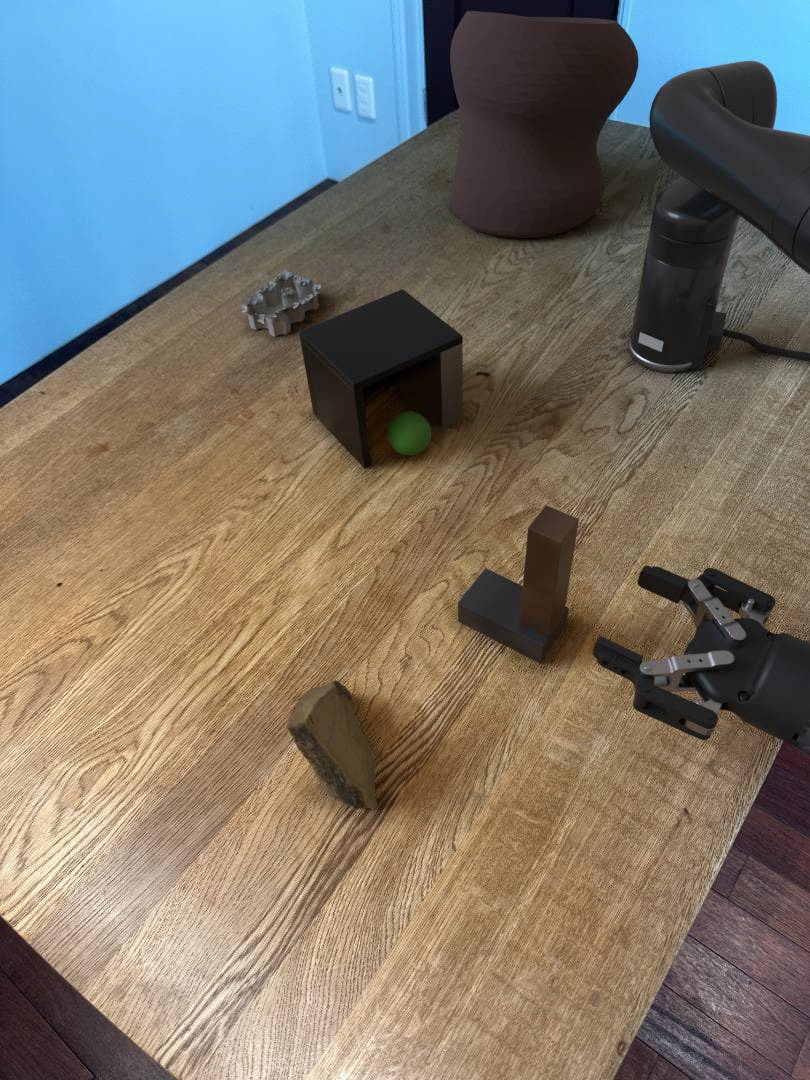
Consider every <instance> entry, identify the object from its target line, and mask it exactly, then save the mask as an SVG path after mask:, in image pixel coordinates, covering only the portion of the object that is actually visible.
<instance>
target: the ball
mask: <svg viewBox="0 0 810 1080" xmlns="http://www.w3.org/2000/svg"><path fill="white" fill-rule="evenodd" d="M386 431H387V432H386V434H387V435H386V436H387V440H388V443H389V445H390V446H391V448H392V449H393V450H394V451H395V452H396V453H398V454H401V455H403V456H416V455H418V454H420V453H422V452H423V451H424V450H425V449H426V448H427V447H428V445H429V443H430V441H431V438H432V429H431V425H430V423H429V421H428V420H427V418H426V417H424V416H423V415H422V414H420V413H418V412H415V411H409V410H407V411H402V412H400V413H398V414H396V415H395V416H394V417H392V419H391V420H390V422H389V424H388V426H387V430H386Z"/></svg>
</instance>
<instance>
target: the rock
mask: <svg viewBox="0 0 810 1080" xmlns="http://www.w3.org/2000/svg"><path fill="white" fill-rule="evenodd" d="M286 730H287V731H288V733H289V735H290V737H291V739H292V740H293V743H294V744H295V746H296V748H297V750H298V751H299V752H300V753H301V754H302V756H303V758H305V759H306V760H307V763H308V764H310V766H311V767H312V768H311V769H312V771H313V773H314V775H315V776H316V778H317V781H318V782H319V784H320V786H321V787H322V789H323V791H324V793H325V794H326V795H327V796H329V797H330V798H332V799H333V800H337V801H338V802H340V803H343V804H346V805H348V806H350V807H352V808H359V809H370V810H375V809H376V808H377V807H378V801H377V799H376V783H375V781H376V776H377V775H376V767H377V765H376V763H375V758H374V756H373V752H372V747H371V746H370V744H369V742H368V739H367V737H366V736H365V735H364V733H363V730H362V725H361V724H360V722H359V720H358V718H357V717H356V715H355V714H354V698H353V695H352V693H351V691H350V690H348V688H347V687H346V686H345V685H342V684H341V682H339V681H338V680H332V681H329V682H328V683H326V684H324V685H322V686H317V687H311V688H310V689H308V690H307V691H306V693H303V695H302V696H300V697H299V698H297V704H296V705H295V706H294V708H293V709H292V711H291V712H290V714H289V716H288V717H287V720H286Z"/></svg>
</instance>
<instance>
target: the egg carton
mask: <svg viewBox="0 0 810 1080" xmlns="http://www.w3.org/2000/svg"><path fill="white" fill-rule="evenodd" d="M322 287H323V285H322V284H320V283H318V284H315V283H314V282H313V281H312V279H307V278H305V277H304V276H300V275H299V274H298V273H295V274H293V273H292V272H290V271H289V270H287V269H286V268H283V269H281V271H280V272H279V273H278V274H277V275H276V276H275V278H274V279H271V280H270V281H269V283H267V282H265V283H264V284H263V285H262V286H261V288H259V289H257V290H256V291H255V292H254V293H253V294H251V295H248V296H246V297H244V298H243V299H242V302H241V306H240V312H241V313H247V318H248V324H249V327H250V328H251V330H254V331H257V330H259V329H267V330H268V334H269V335H270V336H272V337H274V338H275V337H277V336H280V335H288V334H289V333H290V332H292V328H291V327H292V325H291V324H294V323H301V322H303V320H305V319H306V316H305V313H306V312H307V311H310V310H312V311H316V310H318V309H319V308H320V304H319V300H318V299H319V298H318V297H319V294H321V288H322Z"/></svg>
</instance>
